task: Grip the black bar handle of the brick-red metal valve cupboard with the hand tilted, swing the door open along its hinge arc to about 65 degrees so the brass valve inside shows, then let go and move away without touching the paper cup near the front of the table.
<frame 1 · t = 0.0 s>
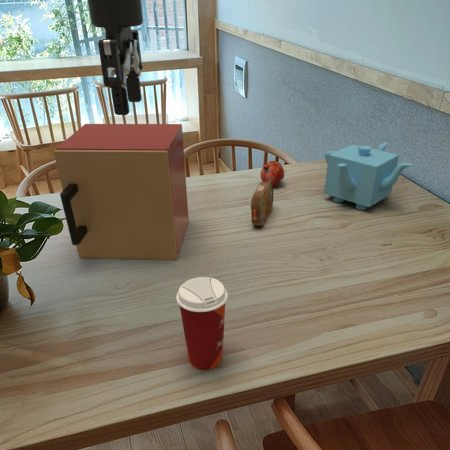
hand: (129, 107, 73), 34 cm above the table, tool pointing down, fingers open, 8 cm apart
paper cup: (205, 358, 75), on the table
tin: (261, 218, 117), on the table
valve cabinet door: (116, 214, 91), point 12 cm above the table, hinge at 0.0°
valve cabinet: (138, 237, 109), on the table
pomegranate: (272, 185, 135), on the table
valve: (140, 234, 110), resting on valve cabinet
teakettle: (359, 201, 124), on the table
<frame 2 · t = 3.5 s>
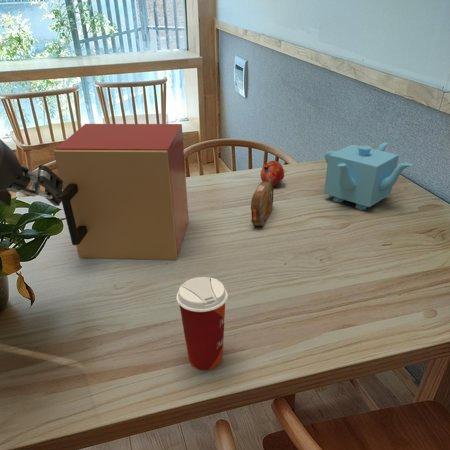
hand: (33, 200, 75), 21 cm above the table, tool tilted 45°, fingers open, 8 cm apart
nothing on the table moved.
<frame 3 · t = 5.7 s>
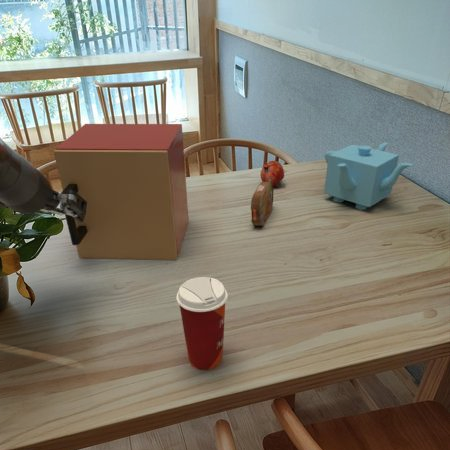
hand: (59, 217, 85), 15 cm above the table, tool tilted 45°, fingers open, 8 cm apart
nothing on the table moved.
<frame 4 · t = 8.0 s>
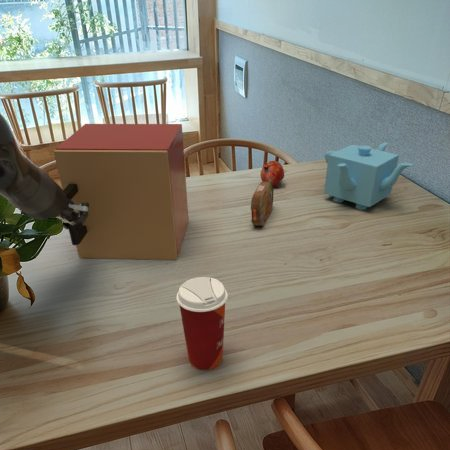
hand: (74, 224, 92), 10 cm above the table, tool tilted 45°, fingers closed on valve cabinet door
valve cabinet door: (116, 214, 91), point 12 cm above the table, hinge at 0.0°, touching gripper
everything else where it was.
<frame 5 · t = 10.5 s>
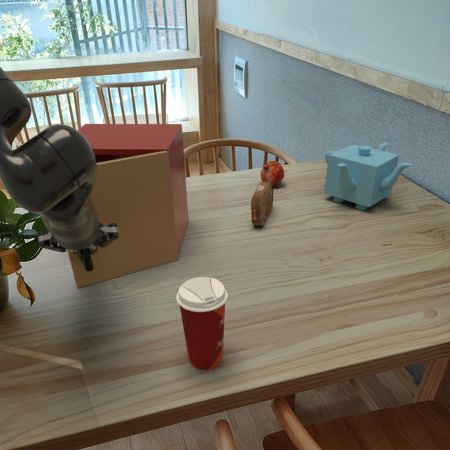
hand: (85, 250, 83), 10 cm above the table, tool tilted 45°, fingers closed on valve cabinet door, 2 cm apart
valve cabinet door: (125, 227, 87), point 12 cm above the table, hinge at 32.6°, touching gripper
everything else where it was.
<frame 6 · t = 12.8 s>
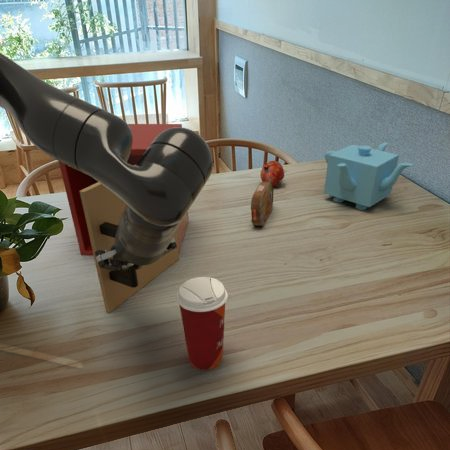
hand: (129, 265, 79), 10 cm above the table, tool tilted 45°, fingers closed, pressing on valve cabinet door
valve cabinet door: (149, 234, 84), point 12 cm above the table, hinge at 63.3°, touching gripper
everything else where it was.
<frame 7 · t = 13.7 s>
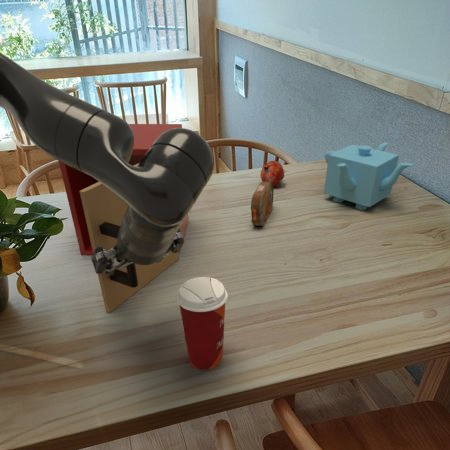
hand: (132, 263, 78), 11 cm above the table, tool tilted 45°, fingers open, 8 cm apart
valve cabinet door: (149, 234, 84), point 12 cm above the table, hinge at 63.3°
everything else where it was.
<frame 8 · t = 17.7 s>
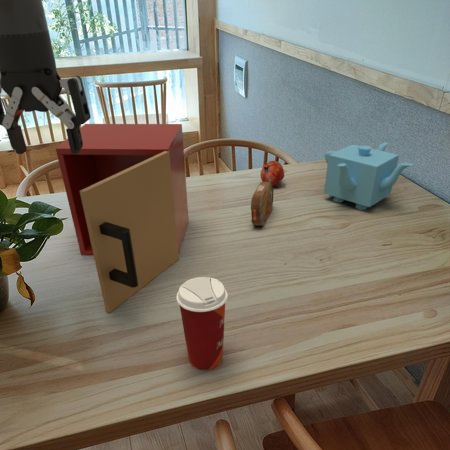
hand: (48, 152, 68), 30 cm above the table, tool pointing down, fingers open, 8 cm apart
nothing on the table moved.
at the end: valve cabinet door at +63° (first picture: +0°); paper cup moved 0.2 cm from its start; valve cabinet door touching nothing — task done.
